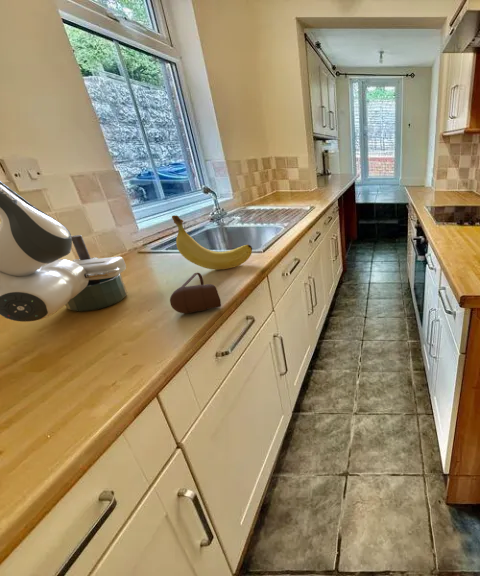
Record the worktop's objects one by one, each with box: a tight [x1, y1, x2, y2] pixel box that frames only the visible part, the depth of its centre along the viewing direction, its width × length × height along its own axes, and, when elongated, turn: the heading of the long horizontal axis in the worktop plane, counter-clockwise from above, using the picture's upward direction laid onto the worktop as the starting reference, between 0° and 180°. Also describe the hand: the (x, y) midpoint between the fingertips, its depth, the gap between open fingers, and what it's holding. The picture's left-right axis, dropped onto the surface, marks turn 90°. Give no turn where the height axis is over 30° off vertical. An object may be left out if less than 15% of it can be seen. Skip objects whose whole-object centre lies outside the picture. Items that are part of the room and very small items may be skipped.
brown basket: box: [169, 272, 222, 314], centre depth 87 cm, size 18×12×7 cm, turn 23°
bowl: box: [65, 273, 128, 312], centre depth 88 cm, size 13×13×7 cm
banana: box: [171, 215, 253, 270], centre depth 109 cm, size 23×6×20 cm, turn 122°
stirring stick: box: [71, 234, 100, 285], centre depth 87 cm, size 2×2×16 cm
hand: (87, 260), depth 87 cm, fingers closed on stirring stick, 2 cm apart
